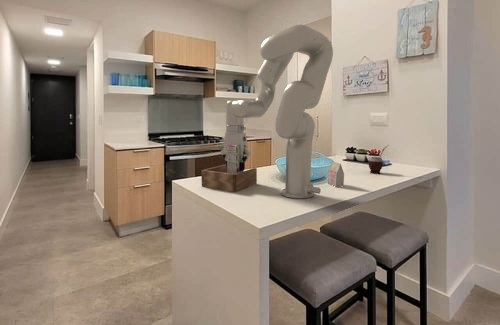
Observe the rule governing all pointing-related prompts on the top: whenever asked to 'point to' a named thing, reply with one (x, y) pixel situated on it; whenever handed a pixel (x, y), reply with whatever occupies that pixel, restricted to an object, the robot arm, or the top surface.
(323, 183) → the top surface
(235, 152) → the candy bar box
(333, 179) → the toy house
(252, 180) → the walnut crate
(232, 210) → the top surface
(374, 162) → the mate gourd
